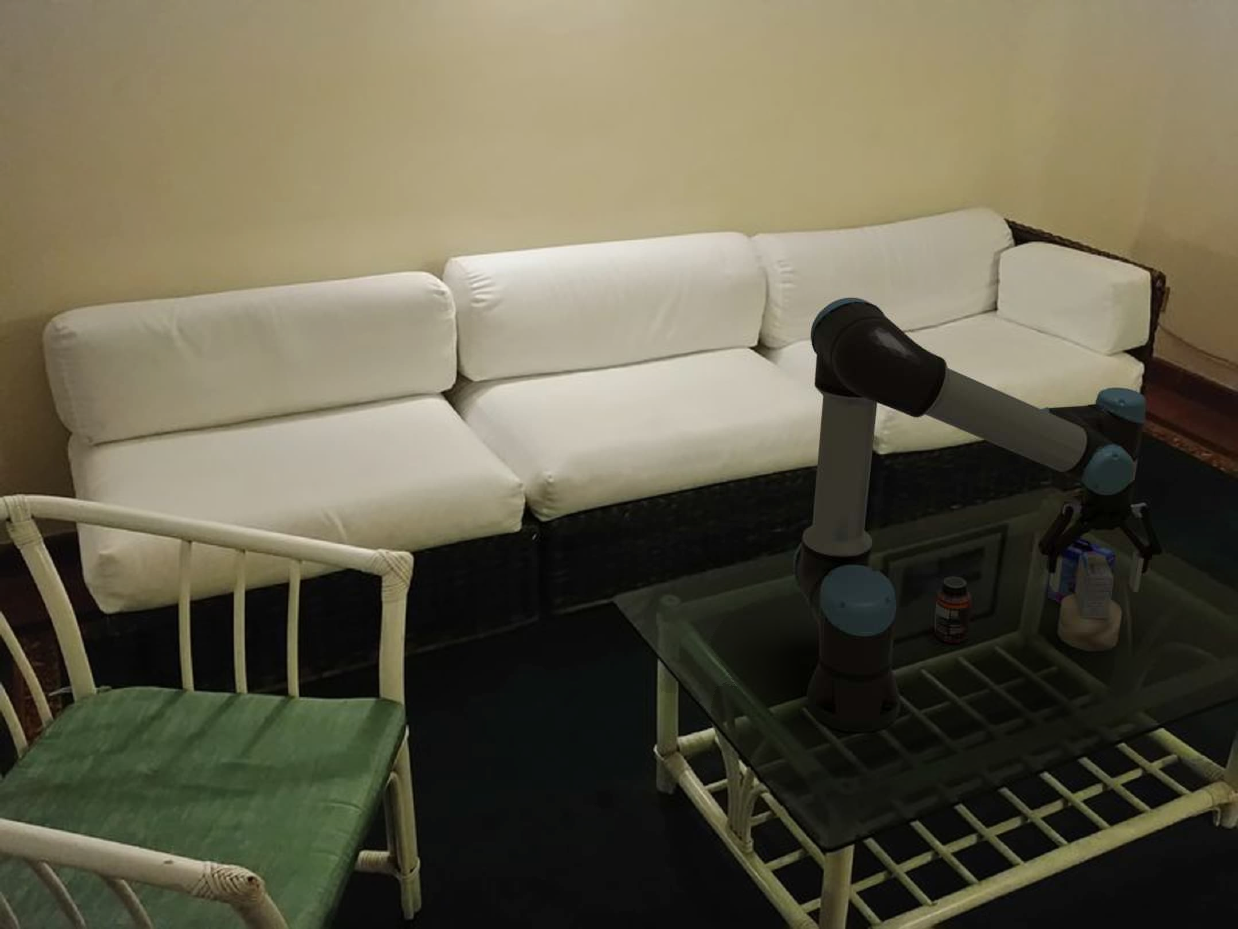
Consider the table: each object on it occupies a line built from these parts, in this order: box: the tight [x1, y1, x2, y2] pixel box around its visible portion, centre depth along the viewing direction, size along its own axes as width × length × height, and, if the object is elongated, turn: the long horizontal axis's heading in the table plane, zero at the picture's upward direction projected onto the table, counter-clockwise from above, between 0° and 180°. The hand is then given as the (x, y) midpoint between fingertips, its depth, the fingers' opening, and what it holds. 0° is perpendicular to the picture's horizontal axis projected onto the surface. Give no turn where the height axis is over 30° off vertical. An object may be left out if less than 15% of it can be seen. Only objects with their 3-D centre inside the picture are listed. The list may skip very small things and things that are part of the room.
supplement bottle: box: [934, 575, 972, 644], centre depth 203 cm, size 6×6×11 cm
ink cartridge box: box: [1046, 537, 1116, 604], centre depth 210 cm, size 10×6×14 cm, turn 38°
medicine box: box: [1075, 555, 1115, 619], centre depth 199 cm, size 8×4×9 cm, turn 169°
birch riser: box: [1057, 594, 1123, 652], centre depth 202 cm, size 10×10×6 cm
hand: (1093, 588), depth 199 cm, fingers open, 13 cm apart
